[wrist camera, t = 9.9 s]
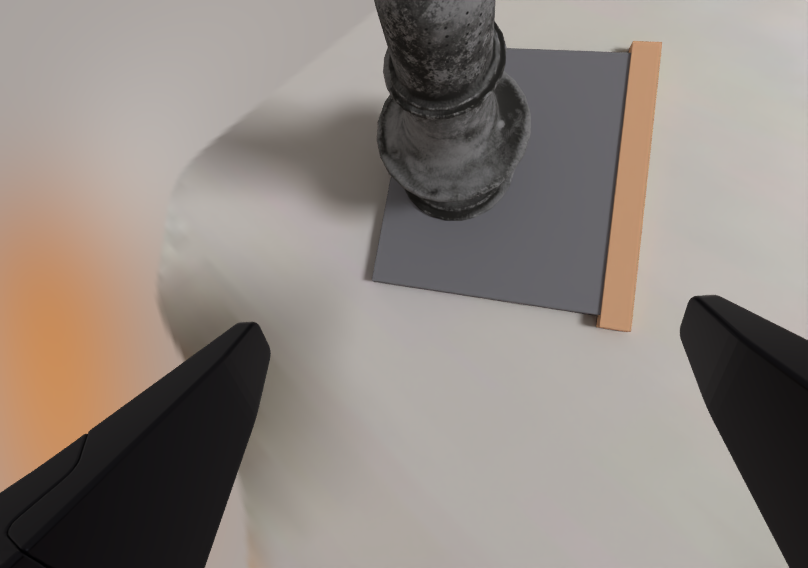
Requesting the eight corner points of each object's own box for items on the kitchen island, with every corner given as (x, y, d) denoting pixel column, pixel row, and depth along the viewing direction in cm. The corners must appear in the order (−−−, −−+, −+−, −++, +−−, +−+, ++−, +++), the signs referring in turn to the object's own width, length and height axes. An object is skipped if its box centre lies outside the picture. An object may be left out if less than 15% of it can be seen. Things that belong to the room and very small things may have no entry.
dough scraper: (657, 49, 19) (662, 42, 18) (626, 332, 17) (630, 331, 17) (417, 41, 21) (416, 34, 20) (372, 291, 19) (369, 290, 19)
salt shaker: (370, 178, 20) (214, -57, 8) (447, 85, 20) (405, -288, 8) (464, 253, 18) (443, 99, 7) (548, 152, 18) (671, -175, 7)
